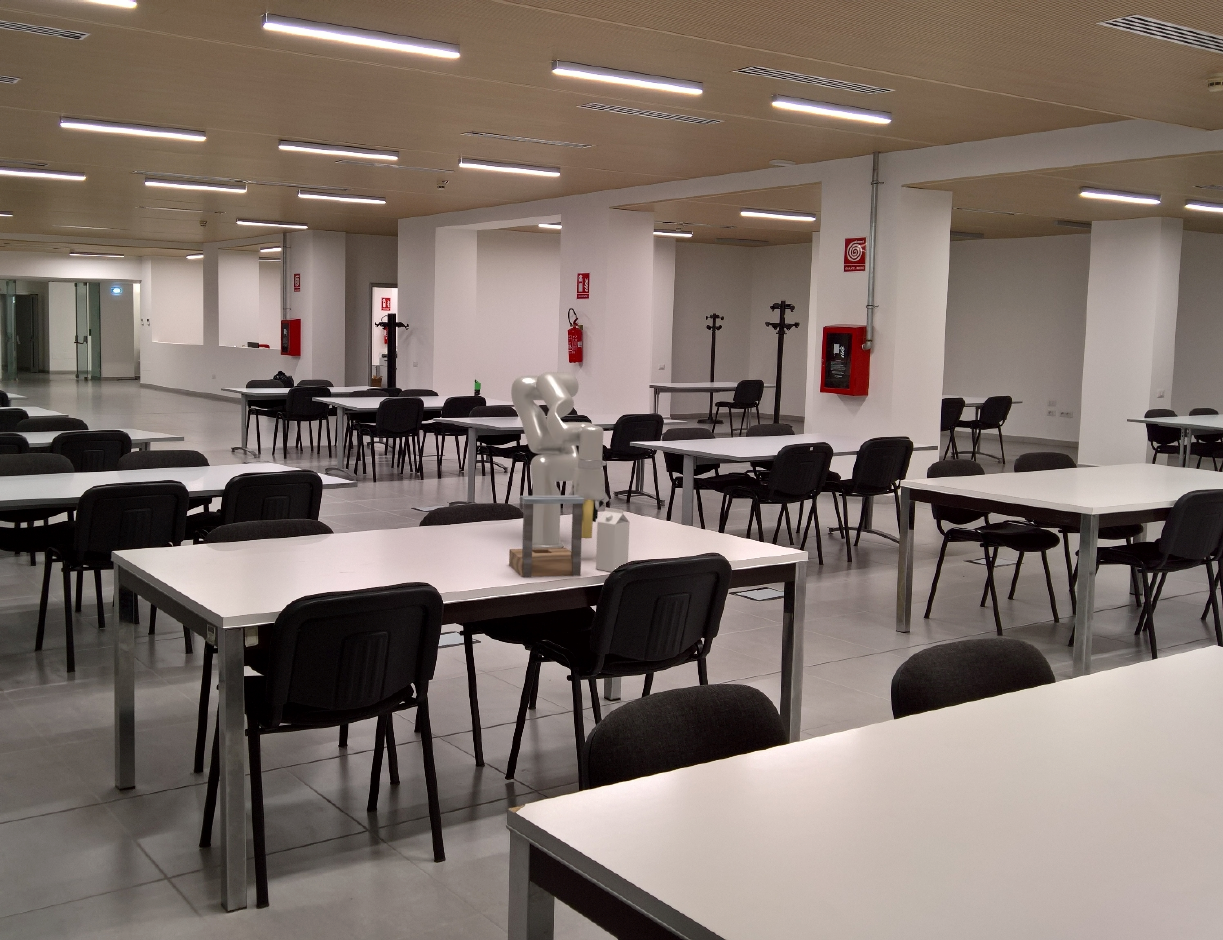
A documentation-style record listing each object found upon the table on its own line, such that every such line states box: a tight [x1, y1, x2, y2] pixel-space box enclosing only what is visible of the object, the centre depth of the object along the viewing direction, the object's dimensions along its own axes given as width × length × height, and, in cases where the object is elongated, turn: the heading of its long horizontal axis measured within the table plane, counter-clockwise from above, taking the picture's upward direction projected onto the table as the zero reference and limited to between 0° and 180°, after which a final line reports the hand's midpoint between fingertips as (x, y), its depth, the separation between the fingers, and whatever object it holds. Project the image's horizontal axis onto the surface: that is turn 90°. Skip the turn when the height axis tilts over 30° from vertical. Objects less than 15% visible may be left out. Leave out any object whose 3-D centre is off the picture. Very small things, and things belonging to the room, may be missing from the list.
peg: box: [581, 499, 594, 539], centre depth 358 cm, size 4×4×14 cm
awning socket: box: [508, 495, 585, 578], centre depth 340 cm, size 20×18×23 cm
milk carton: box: [595, 507, 631, 573], centre depth 346 cm, size 7×7×19 cm
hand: (586, 520), depth 358 cm, fingers closed on peg, 4 cm apart
